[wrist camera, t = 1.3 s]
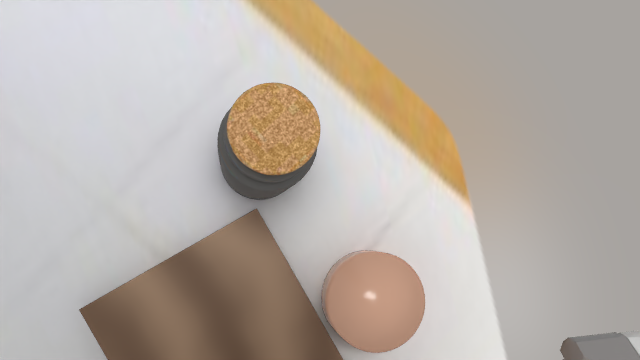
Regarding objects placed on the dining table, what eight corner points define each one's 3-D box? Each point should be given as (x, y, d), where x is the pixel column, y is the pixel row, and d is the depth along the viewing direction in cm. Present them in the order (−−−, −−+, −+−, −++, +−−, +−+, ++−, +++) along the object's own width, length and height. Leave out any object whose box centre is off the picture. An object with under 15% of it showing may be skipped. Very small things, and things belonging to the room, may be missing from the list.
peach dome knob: (350, 360, 44) (360, 371, 40) (304, 280, 44) (310, 285, 40) (426, 311, 45) (442, 318, 41) (381, 233, 45) (394, 234, 41)
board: (181, 477, 41) (180, 485, 40) (83, 307, 41) (79, 309, 40) (348, 370, 43) (351, 374, 42) (255, 208, 43) (256, 208, 42)
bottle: (310, 180, 44) (350, 156, 29) (240, 213, 43) (245, 205, 28) (278, 111, 44) (301, 53, 29) (207, 142, 43) (195, 98, 28)
